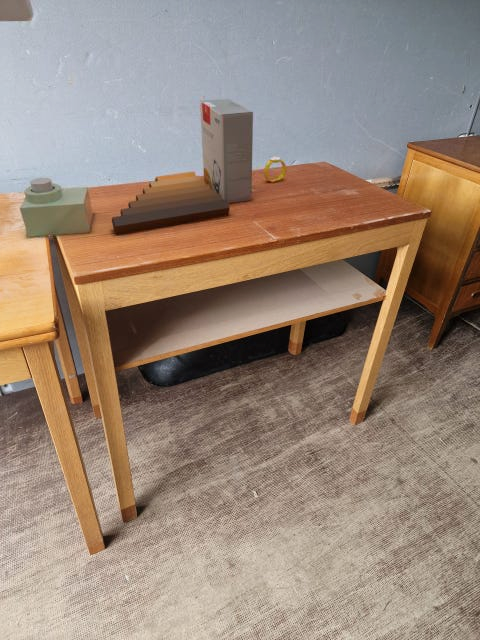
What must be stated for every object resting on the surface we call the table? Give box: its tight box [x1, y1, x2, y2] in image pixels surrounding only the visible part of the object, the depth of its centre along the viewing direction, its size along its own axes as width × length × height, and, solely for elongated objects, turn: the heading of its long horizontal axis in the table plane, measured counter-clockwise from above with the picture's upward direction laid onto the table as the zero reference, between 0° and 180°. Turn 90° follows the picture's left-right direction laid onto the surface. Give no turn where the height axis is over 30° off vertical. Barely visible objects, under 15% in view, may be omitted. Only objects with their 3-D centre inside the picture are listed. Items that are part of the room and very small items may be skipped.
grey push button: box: [29, 177, 53, 193], centre depth 89 cm, size 4×4×2 cm
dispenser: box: [19, 182, 94, 238], centre depth 92 cm, size 12×10×8 cm
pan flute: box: [111, 171, 231, 236], centre depth 102 cm, size 25×3×25 cm
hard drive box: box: [199, 98, 254, 204], centre depth 105 cm, size 16×8×20 cm, turn 21°
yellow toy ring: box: [263, 156, 287, 183], centre depth 116 cm, size 6×3×6 cm, turn 118°
